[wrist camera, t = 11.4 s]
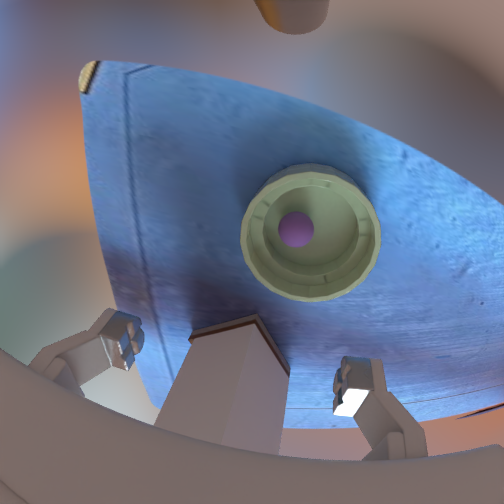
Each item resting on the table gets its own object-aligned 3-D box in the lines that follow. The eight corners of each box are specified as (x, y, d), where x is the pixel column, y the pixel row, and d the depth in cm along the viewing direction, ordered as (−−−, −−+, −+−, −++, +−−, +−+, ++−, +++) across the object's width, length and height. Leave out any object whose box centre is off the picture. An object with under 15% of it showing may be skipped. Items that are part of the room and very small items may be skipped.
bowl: (256, 154, 29) (246, 162, 24) (382, 175, 27) (396, 188, 23) (245, 266, 35) (236, 290, 31) (354, 284, 34) (359, 310, 29)
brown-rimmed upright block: (192, 330, 42) (87, 553, 11) (257, 313, 38) (171, 598, 7) (230, 379, 46) (165, 576, 15) (290, 368, 42) (247, 599, 11)
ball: (301, 205, 31) (273, 207, 29) (324, 217, 28) (295, 220, 26) (296, 236, 32) (269, 240, 31) (317, 250, 30) (289, 256, 28)
